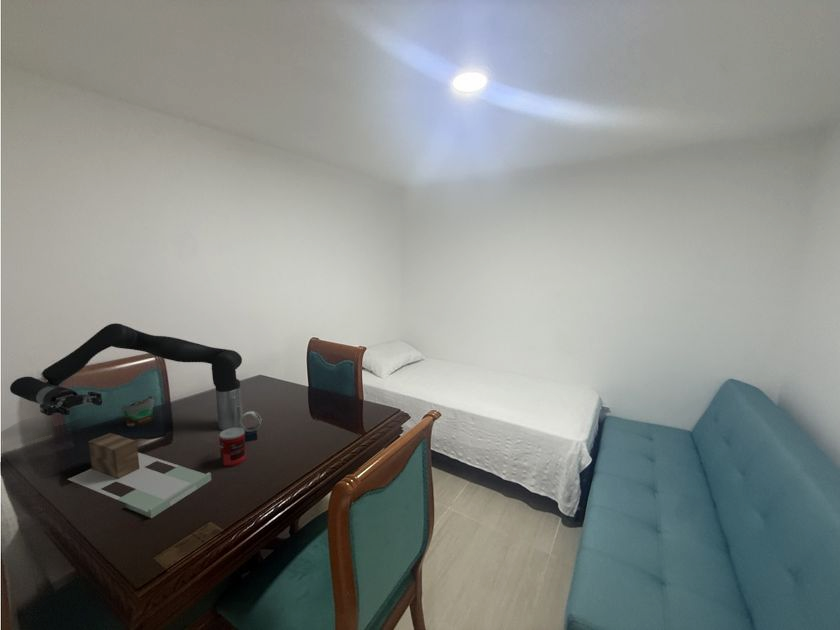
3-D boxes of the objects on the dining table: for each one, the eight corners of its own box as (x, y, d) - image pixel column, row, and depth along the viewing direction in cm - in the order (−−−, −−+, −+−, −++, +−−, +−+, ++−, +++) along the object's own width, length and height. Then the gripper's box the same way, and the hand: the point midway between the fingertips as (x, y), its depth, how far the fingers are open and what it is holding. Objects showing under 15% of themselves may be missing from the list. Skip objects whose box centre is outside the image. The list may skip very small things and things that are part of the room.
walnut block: (91, 469, 111) (88, 441, 109) (113, 459, 116) (110, 432, 115) (118, 479, 106) (115, 450, 105) (139, 468, 112) (136, 440, 110)
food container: (135, 430, 140) (133, 407, 138) (123, 428, 141) (121, 406, 140) (163, 417, 152) (161, 396, 150) (152, 416, 153) (150, 395, 152)
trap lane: (67, 483, 106) (66, 476, 105) (132, 454, 122) (132, 448, 122) (151, 518, 92) (150, 510, 92) (211, 480, 109) (210, 473, 109)
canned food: (227, 455, 123) (225, 427, 122) (249, 454, 124) (248, 427, 123) (216, 467, 116) (214, 438, 114) (240, 466, 117) (238, 437, 115)
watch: (262, 438, 136) (261, 413, 134) (240, 443, 132) (238, 416, 130) (262, 432, 141) (261, 407, 139) (240, 436, 137) (239, 411, 135)
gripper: (27, 394, 111) (55, 404, 105) (82, 381, 124) (109, 389, 119) (29, 415, 112) (57, 426, 107) (83, 400, 125) (110, 409, 120)
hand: (84, 407), depth 113 cm, fingers open, 8 cm apart
